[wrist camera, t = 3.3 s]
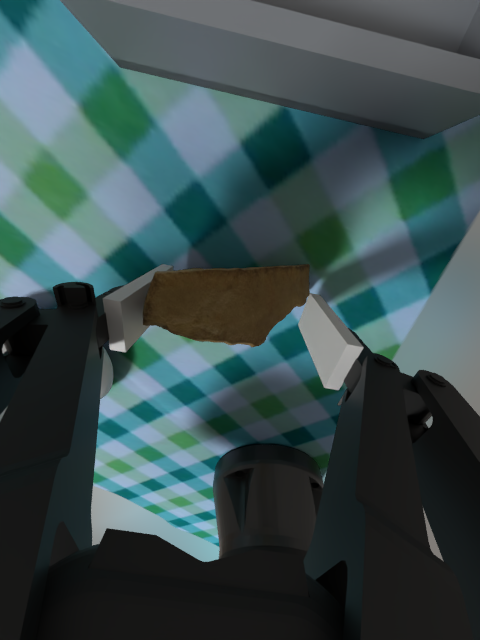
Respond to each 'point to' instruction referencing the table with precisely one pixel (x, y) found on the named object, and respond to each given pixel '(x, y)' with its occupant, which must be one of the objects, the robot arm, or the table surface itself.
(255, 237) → the table surface
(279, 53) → the bin
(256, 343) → the rock
